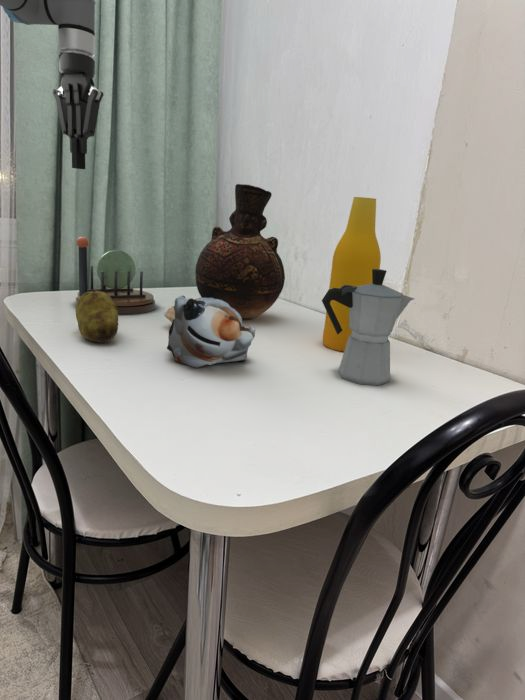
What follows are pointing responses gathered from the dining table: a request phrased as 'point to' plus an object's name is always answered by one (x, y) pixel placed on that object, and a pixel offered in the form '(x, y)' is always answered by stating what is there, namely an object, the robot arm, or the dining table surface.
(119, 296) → the dish rack
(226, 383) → the dining table surface
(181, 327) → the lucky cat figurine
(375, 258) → the beer bottle
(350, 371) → the coffee maker
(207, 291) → the ceramic vessel
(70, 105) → the robot arm
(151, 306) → the base
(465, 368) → the dining table surface
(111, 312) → the potato
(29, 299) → the dining table surface
